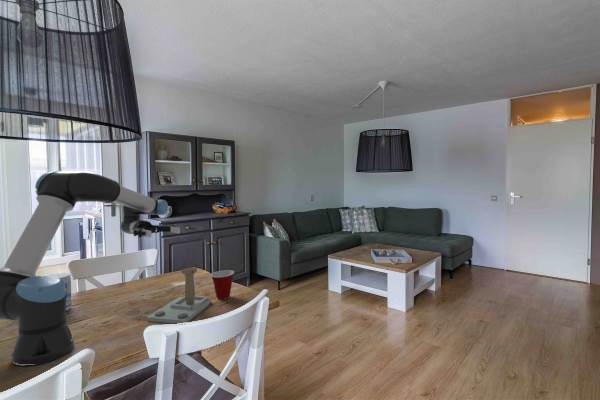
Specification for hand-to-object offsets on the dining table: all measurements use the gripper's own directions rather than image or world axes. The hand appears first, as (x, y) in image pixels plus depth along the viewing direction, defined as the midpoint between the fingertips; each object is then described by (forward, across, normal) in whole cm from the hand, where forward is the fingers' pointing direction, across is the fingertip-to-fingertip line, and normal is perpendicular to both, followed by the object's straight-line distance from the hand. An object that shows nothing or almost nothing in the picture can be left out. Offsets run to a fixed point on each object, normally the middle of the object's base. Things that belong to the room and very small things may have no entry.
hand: (165, 232), depth 141 cm
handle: (+14, -3, -30) cm, 33 cm away
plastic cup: (+17, -18, -32) cm, 40 cm away
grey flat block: (+15, +2, -32) cm, 35 cm away
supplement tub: (-27, +33, -32) cm, 53 cm away
